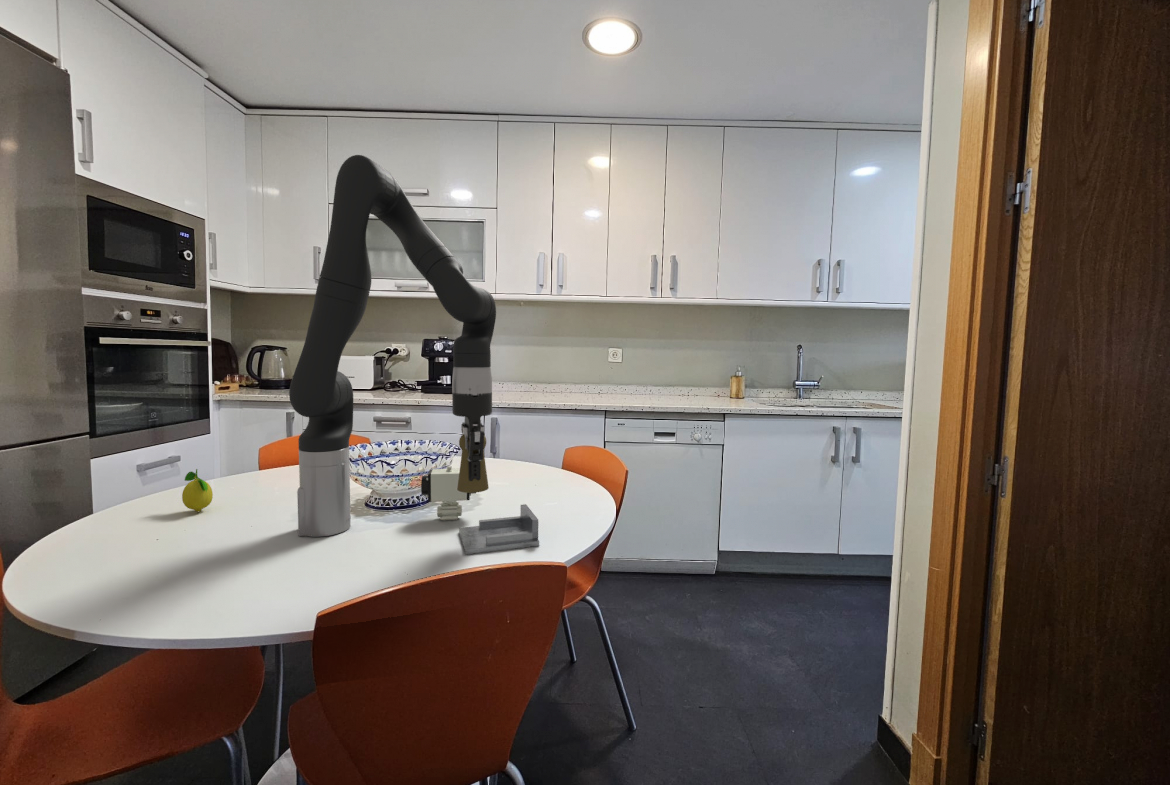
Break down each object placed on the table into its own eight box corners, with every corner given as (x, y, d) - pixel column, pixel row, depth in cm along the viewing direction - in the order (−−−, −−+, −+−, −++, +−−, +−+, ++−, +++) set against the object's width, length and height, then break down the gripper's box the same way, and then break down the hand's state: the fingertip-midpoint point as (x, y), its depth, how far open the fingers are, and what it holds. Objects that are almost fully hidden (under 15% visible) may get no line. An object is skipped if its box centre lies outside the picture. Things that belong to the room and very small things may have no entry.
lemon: (185, 509, 115) (184, 466, 114) (216, 506, 117) (215, 464, 117) (176, 518, 109) (174, 473, 108) (209, 514, 111) (207, 470, 111)
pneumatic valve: (476, 520, 111) (476, 467, 110) (421, 523, 108) (420, 469, 107) (476, 512, 116) (476, 462, 115) (424, 515, 114) (423, 463, 113)
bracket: (465, 554, 92) (465, 528, 92) (459, 532, 103) (459, 509, 103) (539, 546, 97) (539, 520, 96) (524, 525, 108) (525, 503, 108)
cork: (494, 486, 99) (494, 431, 99) (478, 494, 94) (478, 436, 93) (468, 483, 101) (467, 430, 100) (450, 490, 96) (450, 434, 95)
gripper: (448, 388, 101) (449, 470, 103) (456, 393, 88) (457, 488, 89) (485, 387, 104) (486, 468, 105) (498, 393, 91) (498, 485, 92)
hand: (472, 477), depth 97 cm, fingers closed on cork, 4 cm apart
